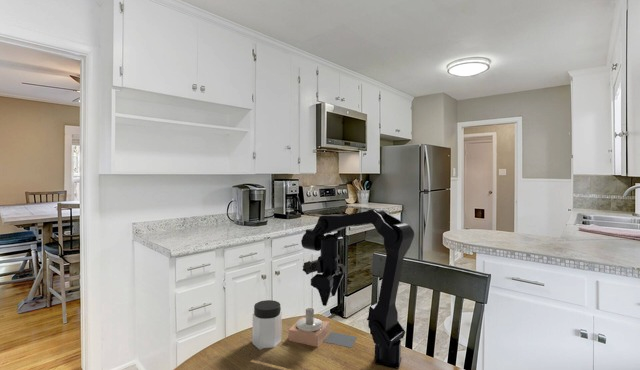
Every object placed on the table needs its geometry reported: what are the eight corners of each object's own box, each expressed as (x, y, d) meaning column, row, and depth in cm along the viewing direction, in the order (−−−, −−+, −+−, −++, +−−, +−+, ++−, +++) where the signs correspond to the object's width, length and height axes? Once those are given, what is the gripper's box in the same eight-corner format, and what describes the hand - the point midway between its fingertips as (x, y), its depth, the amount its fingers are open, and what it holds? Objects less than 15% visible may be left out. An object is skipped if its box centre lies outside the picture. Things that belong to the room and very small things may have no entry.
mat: (357, 338, 103) (357, 336, 103) (351, 349, 96) (351, 347, 96) (331, 333, 106) (331, 331, 106) (323, 343, 99) (323, 341, 99)
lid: (326, 322, 105) (326, 306, 105) (316, 333, 97) (317, 317, 97) (303, 318, 108) (303, 303, 108) (292, 328, 100) (292, 312, 100)
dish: (329, 333, 106) (329, 321, 105) (318, 348, 96) (318, 335, 96) (301, 328, 109) (301, 316, 109) (288, 342, 100) (288, 329, 100)
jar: (285, 344, 98) (286, 306, 98) (262, 353, 93) (262, 313, 93) (271, 333, 105) (271, 297, 105) (248, 341, 100) (248, 303, 100)
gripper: (316, 246, 116) (315, 288, 116) (295, 257, 98) (295, 307, 98) (345, 248, 112) (345, 292, 112) (329, 260, 94) (329, 312, 94)
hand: (329, 300), depth 104 cm, fingers open, 9 cm apart
